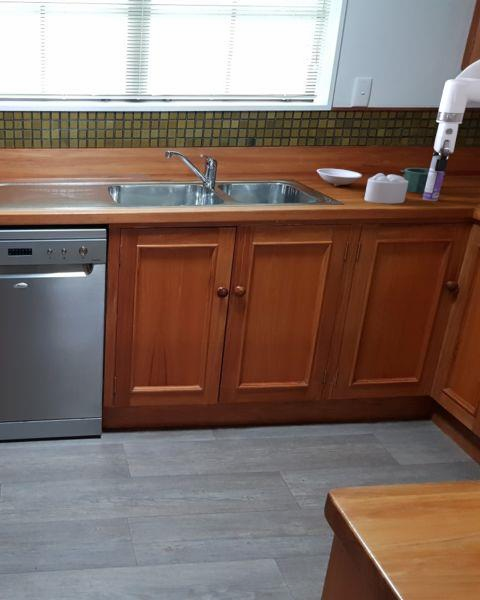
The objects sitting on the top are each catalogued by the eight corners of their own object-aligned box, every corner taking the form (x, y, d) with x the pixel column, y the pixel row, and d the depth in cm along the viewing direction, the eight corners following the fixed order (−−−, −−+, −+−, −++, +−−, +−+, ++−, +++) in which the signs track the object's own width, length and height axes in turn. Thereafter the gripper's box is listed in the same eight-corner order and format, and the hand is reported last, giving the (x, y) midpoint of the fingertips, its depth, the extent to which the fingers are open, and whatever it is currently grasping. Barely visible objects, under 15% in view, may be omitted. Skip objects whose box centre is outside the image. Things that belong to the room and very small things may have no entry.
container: (436, 198, 217) (446, 156, 212) (438, 201, 213) (449, 158, 207) (421, 197, 219) (431, 155, 213) (423, 200, 215) (433, 157, 209)
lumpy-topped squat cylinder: (408, 202, 211) (414, 177, 208) (376, 204, 208) (382, 179, 205) (387, 195, 221) (392, 171, 217) (356, 197, 217) (361, 173, 214)
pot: (438, 188, 233) (442, 169, 230) (443, 195, 223) (448, 175, 220) (395, 185, 238) (399, 166, 235) (398, 191, 228) (402, 172, 225)
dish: (368, 188, 231) (371, 175, 229) (341, 191, 225) (344, 178, 223) (332, 179, 246) (334, 167, 244) (305, 182, 240) (308, 170, 238)
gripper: (467, 121, 196) (453, 174, 203) (457, 116, 211) (445, 165, 218) (441, 120, 199) (428, 172, 206) (433, 115, 214) (422, 164, 220)
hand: (437, 168), depth 212 cm, fingers open, 9 cm apart
